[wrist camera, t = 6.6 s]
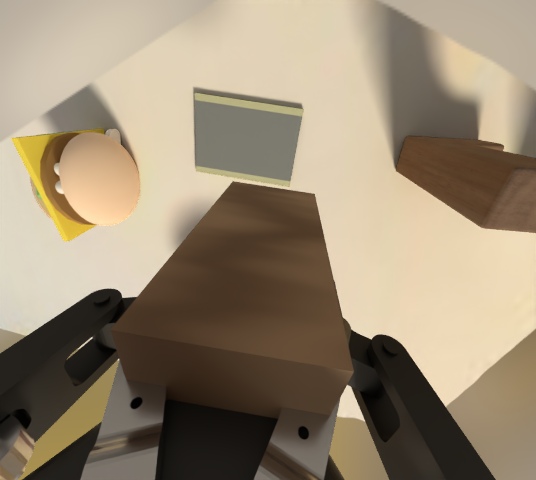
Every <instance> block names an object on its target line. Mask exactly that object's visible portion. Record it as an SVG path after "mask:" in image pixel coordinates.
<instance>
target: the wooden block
mask: <svg viewBox="0 0 536 480" xmlns="http://www.w3.org/2000/svg"><path fill="white" fill-rule="evenodd" d="M503 149H504V146H503V145H502V144H498V143H493V142H487V141H482V140H471V139H455V138H438V137H421V136H407V137H406V138H405V141H404V144H403V147H402V150H401V154H400V157H399V160H398V163H397V167H396V171H397V172H399V173H400V174H402V175H403V176H405V177H406V178H408V179H409V180H411V181H412V182H414V183H415V184H417V185H418V186H420V187H421V188H423V189H424V190H426V191H427V192H429V193H430V194H432V195H433V196H435V197H436V198H438V199H439V200H441V201H442V202H444V203H445V204H447V205H448V206H450V207H451V208H453V209H454V210H456V211H457V212H459V213H460V214H462V215H463V216H465V217H466V218H468V219H469V220H471V221H472V222H474V223H475V224H477V225H478V226H480V227H481V228H486V229H497V230H509V231H520V232H531V233H536V158H532V157H527V156H522V155H518V154H513V153H509V152H504V151H503Z"/></svg>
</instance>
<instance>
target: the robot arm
mask: <svg viewBox="0 0 536 480" xmlns="http://www.w3.org/2000/svg"><path fill="white" fill-rule="evenodd" d="M334 284H335V282H334ZM335 289H336V286H335ZM336 293H337V290H336ZM136 298H137V297H130V298H122V295H121V293H120V292H119V291H118V290H115V289H102V290H98V291H95V292H93V293H91V294H89V295H88V296H86V297H85V298H83V299H82V300H80V301H79V302H77V303H76V304H74V305H73V306H71V307H70V308H68V309H67V310H65V311H64V312H62V313H61V314H59V315H58V316H56V317H55V318H53V319H52V320H50V321H49V322H47V323H46V324H44V325H43V326H41V327H40V328H38V329H37V330H35V331H34V332H32V333H31V334H29V335H27V336H26V337H24V338H23V339H21V340H20V341H19V342H17V343H15V344H14V345H12V346H11V347H9V348H8V349H6V350H5V351H3V352H2V353H0V480H17V479H18V478H19V477H20V476H21V475H22V474H23V472H24V470H25V468H26V464H27V462H28V461H29V459H30V457H31V455H32V452H33V449H34V443H35V442H36V441H37V440H38V439H39V438H40V437H41V436H42V435H43V434H44V433H45V432H46V431H47V430H48V429H49V428H50V427H51V426H52V425H53V424H54V423H55V422H56V421H57V420H58V419H59V418H60V417H61V416H62V415H63V414H64V413H65V412H66V411H67V410H68V409H69V408H70V407H71V406H72V405H73V404H74V403H75V402H76V401H77V400H78V399H79V398H80V397H81V396H82V395H83V394H84V393H85V392H86V391H87V390H88V389H89V388H90V387H91V386H92V385H93V384H94V383H95V382H96V381H97V380H98V379H99V377H100V376H102V375H103V374H104V373H105V372H106V371H107V370H108V369H109V368H110V367H111V366H112V365H113V364H114V363H115V362H116V361H117V360H118V359H119V356H118V353H117V350H116V347H115V343H114V340H113V337H112V334H111V331H110V329H111V328H112V327H113V326H114V325H115V323H116V322H117V321H118V320H119V319H120V317H121V316H122V315H123V314H124V313H125V311H126V310H127V309H128V308H129V307H130V305H131V304H132V303H133V302H134V300H135V299H136ZM337 298H338V295H337ZM338 302H339V299H338ZM339 307H340V304H339ZM340 311H341V308H340ZM341 316H342V313H341ZM342 320H343V325H344V329H345V334H346V338H347V343H348V347H349V352H350V356H351V361H352V365H353V370H354V372H353V374H352V376H351V378H350V380H349V382H348V384H347V385H349V386H351V387H352V390H353V393H354V395H355V397H356V400H357V402H358V405H359V407H360V410H361V412H362V414H363V417H364V419H365V422H366V424H367V426H368V429H369V431H370V434H371V436H372V439H373V441H374V443H375V446H376V448H377V451H378V453H379V455H380V458H381V460H382V463H383V465H384V467H385V470H386V472H387V475H388V477H389V480H496V479H495V478H494V477H493V475H492V474H491V472H490V471H489V469H488V468H487V466H486V465H485V464H484V462H483V461H482V459H481V458H480V456H479V455H478V453H477V452H476V450H475V449H474V448H473V446H472V445H471V443H470V442H469V440H468V439H467V437H466V436H465V435H464V433H463V432H462V430H461V429H460V427H459V426H458V425H457V423H456V422H455V420H454V419H453V418H452V416H451V414H450V413H449V412H448V410H447V408H446V407H445V406H444V404H443V403H442V401H441V400H440V398H439V397H438V395H437V394H436V393H435V391H434V390H433V388H432V387H431V385H430V384H429V382H428V381H427V380H426V378H425V377H424V375H423V374H422V372H421V371H420V369H419V368H418V367H417V365H416V364H415V362H414V361H413V359H412V358H411V356H410V355H409V353H408V352H407V351H406V349H405V348H404V347H403V345H402V344H401V343H399V342H398V341H397V340H395V339H394V338H392V337H390V336H387V335H376V336H374V337H373V338H372V340H371V339H369V338H367V337H364V336H362V335H360V334H358V333H356V332H354V331H353V330H351V327H350V325H349V323H348V322H347V321H346V320H345V319H344V318H343V317H342ZM91 337H93V339H91V340H90V341H89V342H88V343H87V344H85V345H84V346H83V347H82V348H81V349H79V350H78V351H77V352H76V353H75V354H73V355H72V356H71V357H70V358H69V359H67V358H68V357H69V356H70V354H72V352H74V351H75V350H76V349H78V348H79V347H80V346H81V345H82V344H84V343H85V342H86V341H87V340H88V339H90V338H91ZM339 402H340V399H339V401H338V403H337V405H336V406H335V408H334V410H333V412H332V414H331V415H326V414H320V413H314V412H309V411H303V410H297V409H292V408H286V407H283V409H282V411H281V414H280V416H279V419H277V418H271V417H265V416H260V415H254V414H248V413H243V412H237V411H232V410H226V409H220V408H215V407H209V406H203V405H198V404H192V403H187V402H181V401H175V400H170V399H168V394H167V388H166V386H161V385H156V384H150V383H144V382H139V381H133V380H127V379H126V378H125V375H124V372H123V369H122V366H121V363H120V360H119V364H118V367H117V371H116V375H115V378H114V382H113V385H112V389H111V392H110V396H109V399H108V403H107V406H106V410H105V413H104V417H103V420H102V422H101V423H99V424H98V425H96V426H95V427H94V428H92V429H91V430H90V431H88V432H87V433H86V434H84V435H83V436H82V437H80V438H79V439H77V440H76V441H75V442H73V443H72V444H71V445H69V446H68V447H66V448H65V449H64V450H62V451H61V452H59V453H58V454H57V455H55V456H54V457H53V458H51V459H50V460H49V461H47V462H46V463H44V464H43V465H42V466H40V467H39V468H37V469H36V470H35V471H33V472H32V473H31V474H29V475H28V476H26V477H25V478H24V479H22V480H344V478H343V476H342V475H341V473H340V471H339V470H338V468H337V466H336V465H335V463H334V461H333V460H332V458H331V456H330V455H329V451H330V446H331V441H332V436H333V431H334V427H335V422H336V417H337V412H338V407H339Z"/></svg>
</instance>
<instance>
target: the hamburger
mask: <svg viewBox="0 0 536 480" xmlns="http://www.w3.org/2000/svg"><path fill="white" fill-rule="evenodd" d="M11 139H12V141H13V143H14V145H15V147H16V149H17V151H18V153H19V155H20V157H21V159H22V161H23V163H24V165H25V166H26V168H27V170H28V172H29V174H30V178H31V186H32V191H33V194H34V196H35V199H36V201H37V203H38V204H39V206H40V208H41V209H42V210H43V211H44V212H45V214H46V215H47V216H48V217H50V218H51V219H52V220H53V221H54V223H55V225H56V227H57V229H58V231H59V233H60V235H61V237H62V239H63V241H70V240H72V239H74V238H75V237H77V236H79V235H81V234H82V233H84V232H86V231H88V230H89V229H91V228H93V227H94V226H96V225H101V226H110V225H114V224H118V223H120V222H122V221H124V220H125V219H126V218H128V217H129V216H130V215H131V213H132V212H133V211H134V209H135V208H136V205H137V203H138V200H139V196H140V178H139V173H138V170H137V167H136V165H135V163H134V161H133V159H132V157H131V156H130V154H129V153H128V152H127V150H126V149H125V148H124V147H123V146H122V145H121V139H120V133H119V131H118V130H117V129H109V130H107V131H106V133H104V130H103V129H93V130H84V131H72V132H62V133H52V134H43V135H36V136H27V137H17V138H11Z"/></svg>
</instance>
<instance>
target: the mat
mask: <svg viewBox="0 0 536 480" xmlns="http://www.w3.org/2000/svg"><path fill="white" fill-rule="evenodd" d="M302 114H303V109H298V108H292V107H285V106H278V105H272V104H265V103H259V102H252V101H246V100H239V99H233V98H226V97H220V96H213V95H206V94H200V93H195V137H196V171H197V172H203V173H209V174H215V175H221V176H227V177H233V178H239V179H245V180H251V181H257V182H263V183H269V184H275V185H281V186H287V187H289V186H290V180H291V175H292V169H293V164H294V158H295V153H296V147H297V142H298V136H299V131H300V125H301V120H302Z"/></svg>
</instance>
